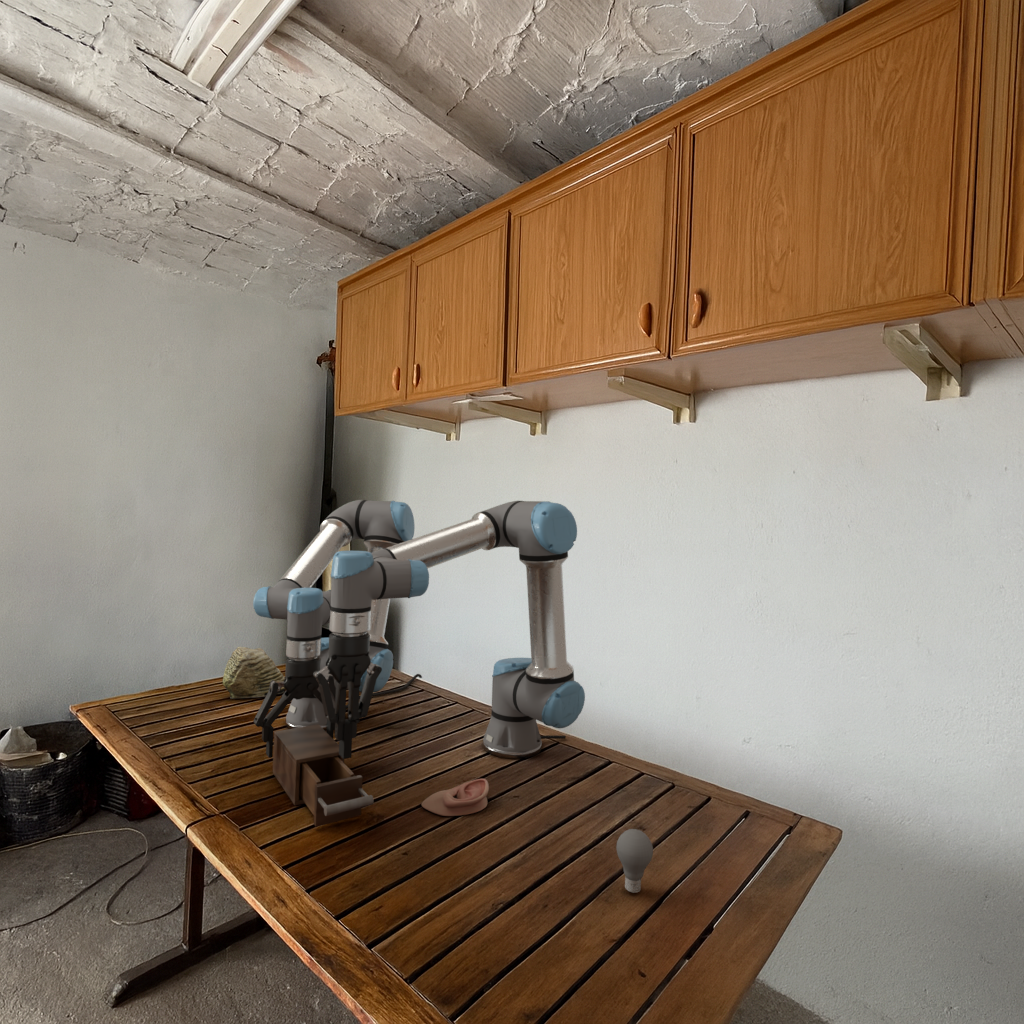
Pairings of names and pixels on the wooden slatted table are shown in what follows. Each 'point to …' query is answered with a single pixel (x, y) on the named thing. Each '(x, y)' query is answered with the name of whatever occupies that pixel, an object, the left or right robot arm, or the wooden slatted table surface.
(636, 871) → the light bulb
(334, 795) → the drawer
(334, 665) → the right robot arm
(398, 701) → the wooden slatted table surface
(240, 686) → the fossil
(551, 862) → the wooden slatted table surface
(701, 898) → the wooden slatted table surface
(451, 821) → the wooden slatted table surface
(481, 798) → the anatomical model
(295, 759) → the cabinet
